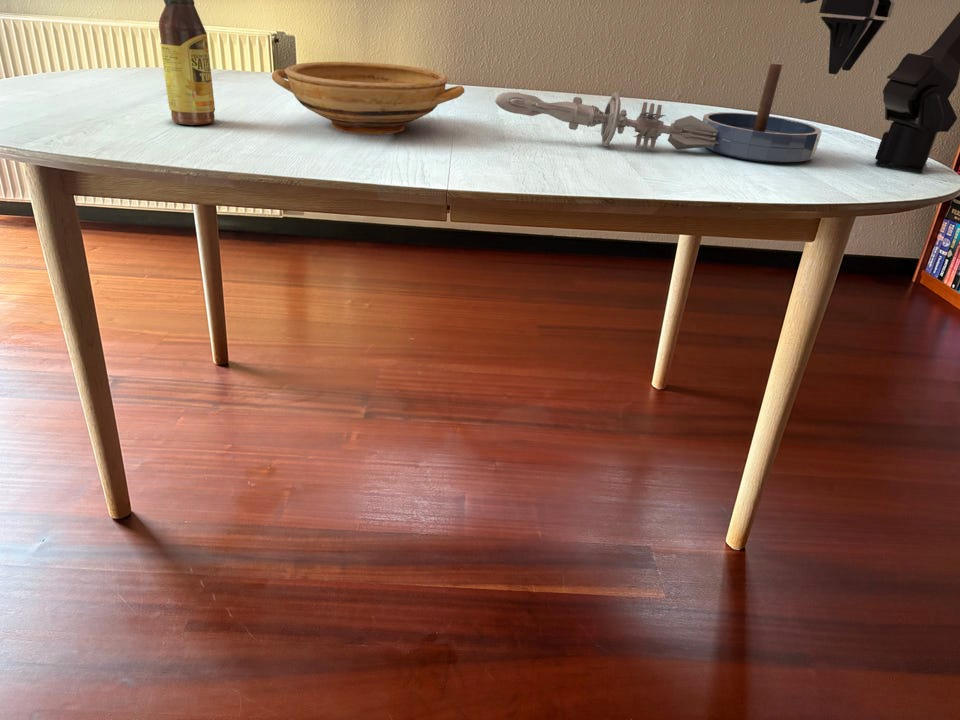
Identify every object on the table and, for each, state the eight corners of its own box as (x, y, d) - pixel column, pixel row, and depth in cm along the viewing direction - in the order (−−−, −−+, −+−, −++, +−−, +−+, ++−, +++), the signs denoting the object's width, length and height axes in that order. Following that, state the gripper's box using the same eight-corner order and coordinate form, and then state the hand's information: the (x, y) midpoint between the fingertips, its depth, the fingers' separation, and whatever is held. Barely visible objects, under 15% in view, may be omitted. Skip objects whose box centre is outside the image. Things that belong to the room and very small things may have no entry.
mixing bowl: (823, 154, 111) (832, 125, 109) (796, 172, 99) (805, 140, 96) (718, 135, 120) (724, 108, 118) (680, 149, 107) (687, 119, 105)
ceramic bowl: (473, 122, 116) (476, 71, 112) (448, 152, 95) (451, 91, 91) (304, 106, 118) (301, 55, 114) (243, 132, 97) (237, 72, 93)
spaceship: (497, 79, 106) (501, 63, 98) (714, 118, 108) (735, 106, 100) (489, 131, 107) (492, 119, 99) (705, 169, 109) (725, 160, 101)
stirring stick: (770, 148, 110) (793, 64, 103) (763, 152, 107) (786, 66, 100) (745, 144, 111) (766, 61, 105) (738, 147, 109) (759, 62, 102)
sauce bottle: (207, 128, 98) (187, -31, 88) (163, 125, 98) (139, -35, 88) (223, 119, 104) (206, -31, 94) (182, 116, 104) (160, -34, 94)
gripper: (828, -52, 102) (797, 62, 109) (797, -62, 88) (764, 68, 96) (912, -48, 96) (873, 71, 104) (892, -59, 83) (849, 79, 90)
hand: (839, 72), depth 99 cm, fingers open, 9 cm apart
